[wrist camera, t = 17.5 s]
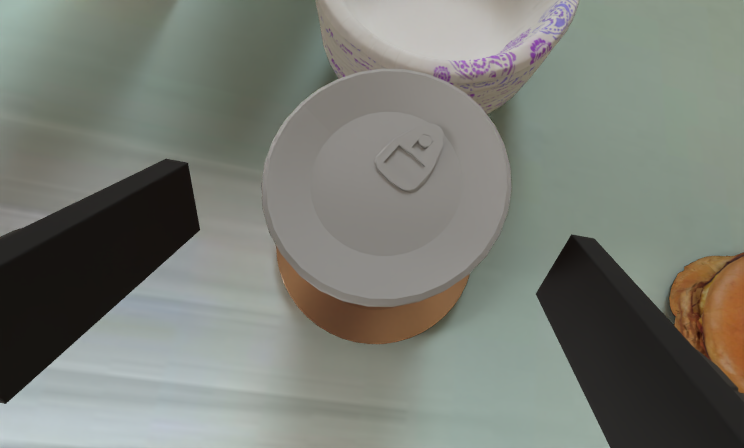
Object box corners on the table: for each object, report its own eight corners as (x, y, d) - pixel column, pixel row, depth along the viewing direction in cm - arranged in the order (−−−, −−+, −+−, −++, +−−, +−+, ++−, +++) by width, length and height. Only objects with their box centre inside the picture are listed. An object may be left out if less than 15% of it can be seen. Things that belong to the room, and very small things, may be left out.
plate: (256, 320, 19) (251, 321, 19) (305, 139, 22) (303, 133, 22) (457, 360, 19) (461, 363, 18) (479, 171, 22) (484, 167, 21)
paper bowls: (451, 187, 22) (498, 129, 14) (287, 77, 24) (249, -29, 16) (551, 46, 25) (636, -67, 17) (399, -43, 27) (413, -181, 19)
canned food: (452, 211, 20) (548, 119, 10) (404, 324, 19) (455, 361, 8) (350, 165, 21) (336, 30, 10) (294, 269, 19) (207, 236, 9)
